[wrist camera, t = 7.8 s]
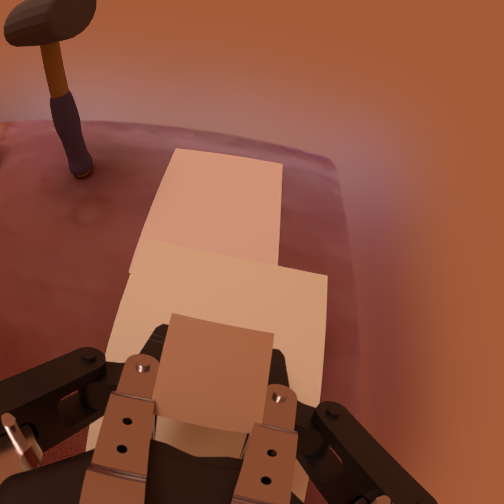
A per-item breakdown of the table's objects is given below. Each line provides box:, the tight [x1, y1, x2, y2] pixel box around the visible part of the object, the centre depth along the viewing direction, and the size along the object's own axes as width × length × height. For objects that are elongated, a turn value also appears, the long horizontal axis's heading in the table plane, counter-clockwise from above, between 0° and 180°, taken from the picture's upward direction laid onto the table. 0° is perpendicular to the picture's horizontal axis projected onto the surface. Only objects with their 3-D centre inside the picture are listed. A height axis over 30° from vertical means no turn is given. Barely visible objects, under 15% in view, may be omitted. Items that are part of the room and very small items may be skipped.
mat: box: [128, 148, 283, 274], centre depth 37 cm, size 22×17×1 cm
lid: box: [86, 238, 327, 503], centre depth 12 cm, size 19×14×12 cm
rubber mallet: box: [4, 0, 96, 177], centre depth 25 cm, size 12×8×30 cm, turn 67°
